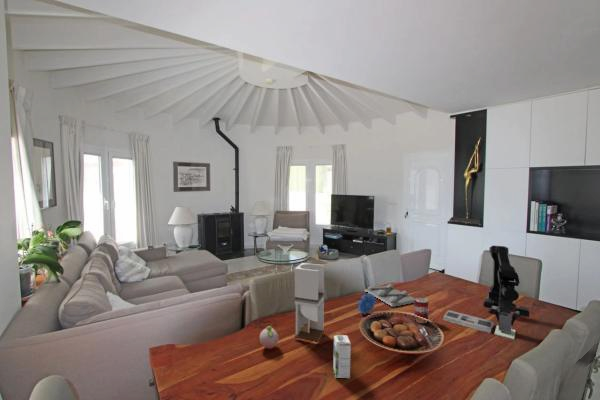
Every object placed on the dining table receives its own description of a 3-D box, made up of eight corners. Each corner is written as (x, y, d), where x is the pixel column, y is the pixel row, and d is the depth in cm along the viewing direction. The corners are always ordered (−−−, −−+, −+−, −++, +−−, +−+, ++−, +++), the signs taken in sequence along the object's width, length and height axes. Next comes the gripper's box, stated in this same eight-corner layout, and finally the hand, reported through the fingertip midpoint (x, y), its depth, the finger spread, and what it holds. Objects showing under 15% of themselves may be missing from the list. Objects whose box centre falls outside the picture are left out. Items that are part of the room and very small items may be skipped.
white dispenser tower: (294, 340, 138) (294, 268, 137) (302, 329, 148) (302, 262, 147) (317, 344, 134) (317, 271, 133) (323, 333, 144) (323, 265, 143)
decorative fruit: (257, 345, 134) (257, 324, 133) (274, 341, 137) (274, 321, 137) (262, 356, 125) (262, 333, 125) (280, 352, 128) (280, 330, 128)
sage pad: (496, 326, 152) (496, 325, 152) (515, 331, 147) (515, 330, 147) (494, 334, 144) (494, 333, 144) (514, 339, 139) (514, 338, 139)
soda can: (429, 325, 153) (430, 303, 153) (415, 324, 155) (415, 302, 154) (426, 319, 160) (427, 298, 160) (412, 317, 162) (413, 297, 161)
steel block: (499, 326, 149) (500, 311, 149) (511, 329, 146) (512, 313, 145) (498, 330, 145) (499, 314, 145) (510, 333, 142) (511, 317, 142)
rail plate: (448, 313, 167) (448, 309, 167) (493, 325, 153) (493, 321, 153) (443, 320, 159) (443, 316, 159) (490, 333, 145) (490, 329, 145)
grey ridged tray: (419, 303, 183) (419, 292, 182) (392, 309, 175) (392, 297, 174) (388, 287, 210) (388, 278, 210) (363, 292, 202) (363, 282, 202)
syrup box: (332, 370, 116) (332, 335, 115) (347, 369, 116) (347, 334, 116) (335, 379, 110) (335, 342, 110) (350, 378, 111) (351, 342, 110)
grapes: (371, 309, 173) (371, 289, 172) (377, 314, 167) (378, 293, 166) (354, 312, 169) (354, 292, 168) (360, 317, 163) (360, 296, 162)
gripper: (482, 293, 144) (481, 324, 145) (529, 303, 132) (528, 336, 133) (485, 287, 153) (484, 316, 154) (530, 296, 141) (529, 327, 142)
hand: (505, 323), depth 145 cm, fingers closed on steel block, 5 cm apart
